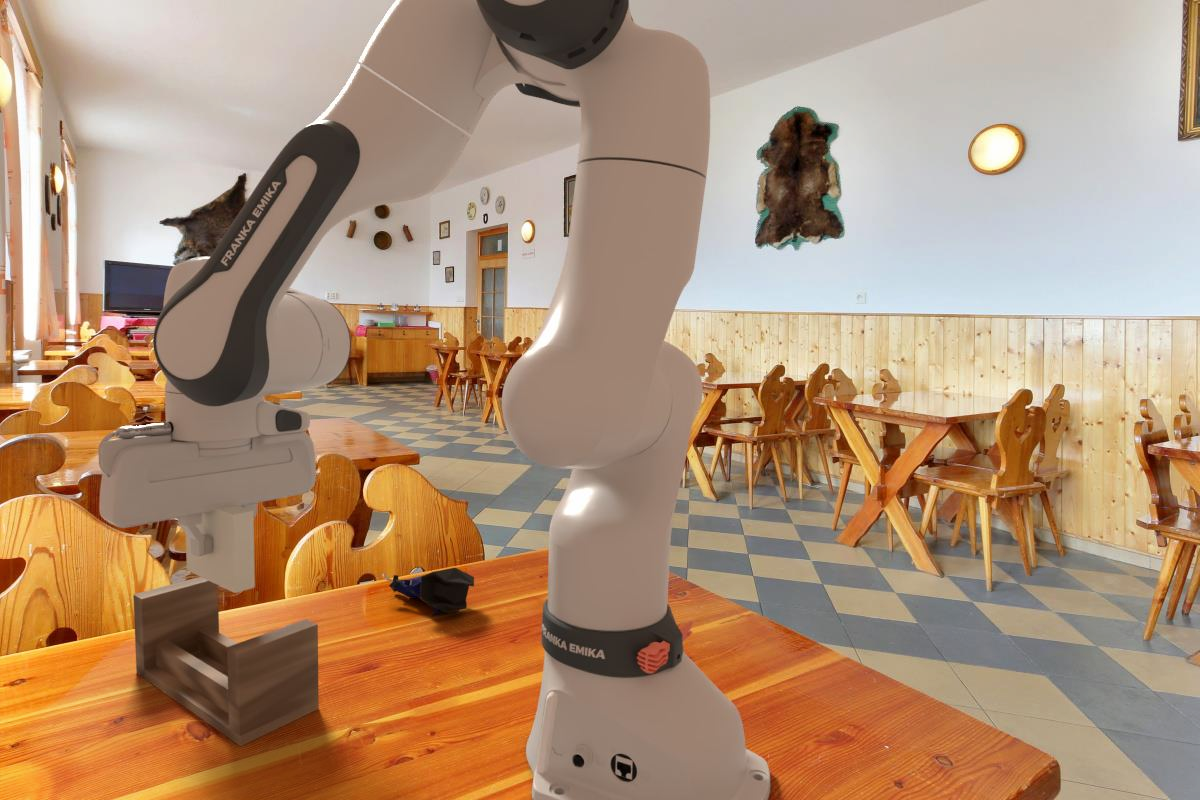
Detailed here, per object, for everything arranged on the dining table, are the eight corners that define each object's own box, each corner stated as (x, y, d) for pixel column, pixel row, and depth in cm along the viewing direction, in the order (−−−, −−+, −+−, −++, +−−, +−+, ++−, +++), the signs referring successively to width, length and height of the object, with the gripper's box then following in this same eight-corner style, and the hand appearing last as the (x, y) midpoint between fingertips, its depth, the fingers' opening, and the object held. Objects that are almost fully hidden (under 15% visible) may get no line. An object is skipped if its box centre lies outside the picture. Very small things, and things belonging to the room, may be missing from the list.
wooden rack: (318, 708, 70) (317, 624, 69) (240, 746, 64) (238, 653, 63) (211, 646, 83) (209, 574, 82) (136, 672, 76) (133, 594, 75)
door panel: (254, 587, 70) (253, 510, 69) (234, 593, 68) (233, 514, 67) (206, 565, 76) (204, 494, 75) (186, 570, 74) (184, 497, 73)
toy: (429, 572, 106) (491, 570, 96) (423, 616, 103) (486, 618, 94) (376, 565, 99) (437, 562, 90) (368, 611, 97) (430, 614, 87)
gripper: (112, 432, 60) (118, 585, 61) (323, 413, 77) (324, 534, 78) (83, 424, 63) (89, 569, 65) (291, 408, 80) (292, 523, 82)
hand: (219, 549), depth 72 cm, fingers closed on door panel, 2 cm apart
